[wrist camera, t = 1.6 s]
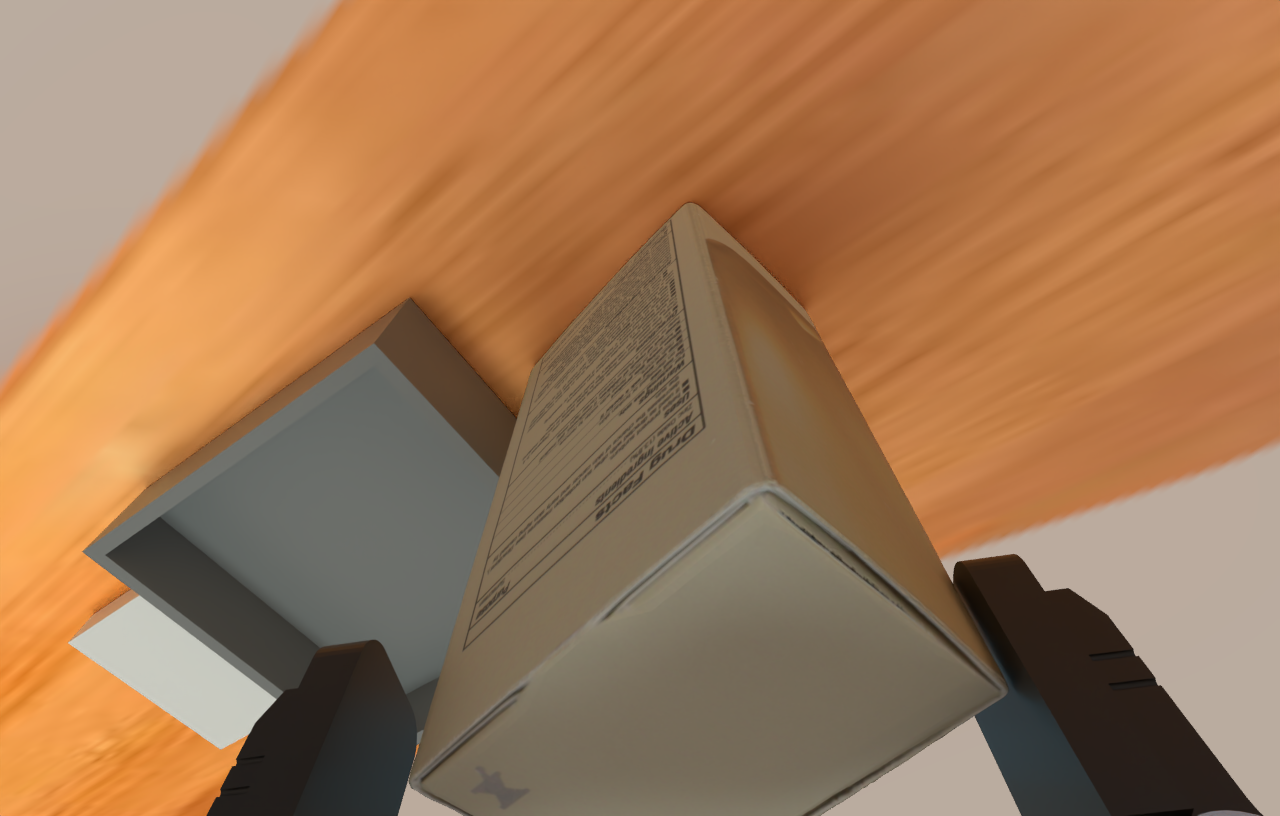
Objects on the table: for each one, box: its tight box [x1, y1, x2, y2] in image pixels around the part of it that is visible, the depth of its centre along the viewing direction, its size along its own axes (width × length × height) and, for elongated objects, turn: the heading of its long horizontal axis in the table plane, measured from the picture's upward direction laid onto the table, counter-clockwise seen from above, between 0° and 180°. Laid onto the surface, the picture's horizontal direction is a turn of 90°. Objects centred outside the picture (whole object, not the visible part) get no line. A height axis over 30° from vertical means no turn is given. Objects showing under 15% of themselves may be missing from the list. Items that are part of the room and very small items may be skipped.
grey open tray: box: [68, 298, 517, 749], centre depth 22 cm, size 16×10×3 cm, turn 125°
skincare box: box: [409, 203, 1009, 816], centre depth 14 cm, size 6×4×12 cm
